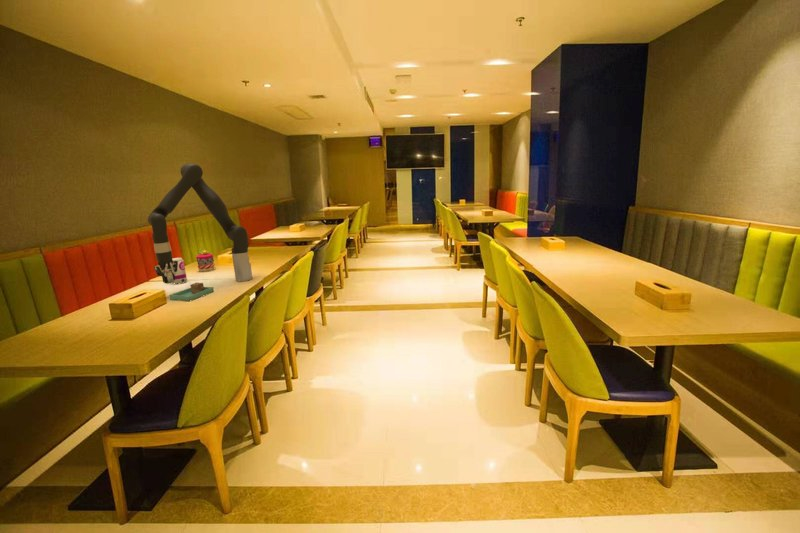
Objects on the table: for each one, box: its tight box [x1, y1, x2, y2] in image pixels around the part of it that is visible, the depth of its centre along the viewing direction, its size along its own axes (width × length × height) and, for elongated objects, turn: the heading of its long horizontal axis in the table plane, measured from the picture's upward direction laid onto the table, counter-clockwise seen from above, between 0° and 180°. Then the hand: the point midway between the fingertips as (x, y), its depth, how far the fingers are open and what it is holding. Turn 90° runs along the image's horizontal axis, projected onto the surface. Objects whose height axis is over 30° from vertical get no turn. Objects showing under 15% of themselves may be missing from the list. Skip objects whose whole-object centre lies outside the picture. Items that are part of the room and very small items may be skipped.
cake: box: [195, 248, 215, 273], centre depth 279 cm, size 10×11×15 cm
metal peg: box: [165, 270, 174, 285], centre depth 220 cm, size 4×4×6 cm
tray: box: [168, 286, 215, 302], centre depth 221 cm, size 17×13×3 cm
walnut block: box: [189, 282, 205, 294], centre depth 224 cm, size 4×4×5 cm
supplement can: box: [172, 257, 188, 285], centre depth 249 cm, size 8×8×15 cm
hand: (169, 281), depth 220 cm, fingers closed on metal peg, 4 cm apart
